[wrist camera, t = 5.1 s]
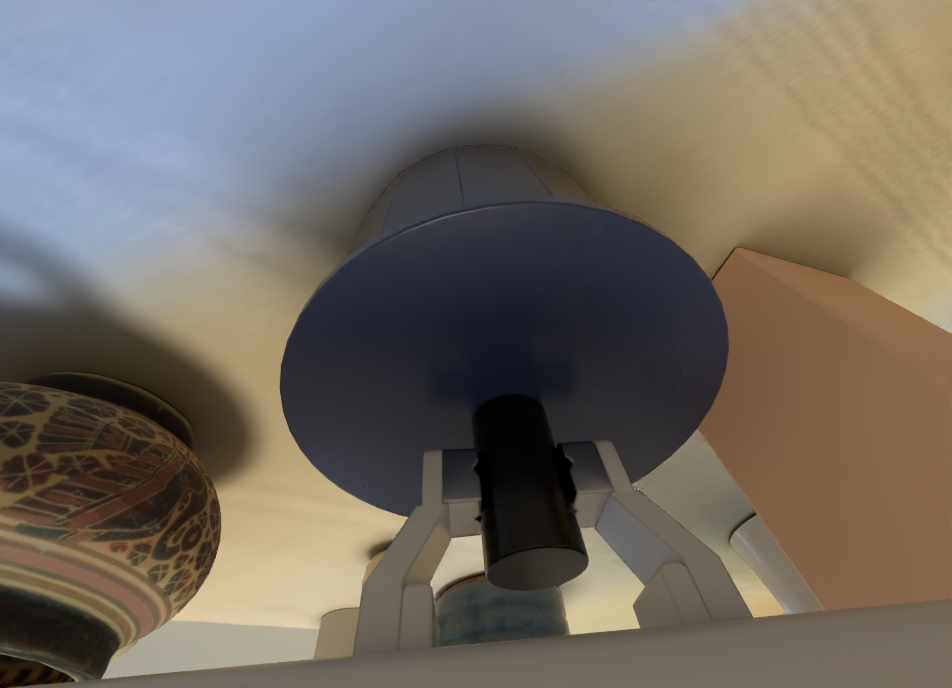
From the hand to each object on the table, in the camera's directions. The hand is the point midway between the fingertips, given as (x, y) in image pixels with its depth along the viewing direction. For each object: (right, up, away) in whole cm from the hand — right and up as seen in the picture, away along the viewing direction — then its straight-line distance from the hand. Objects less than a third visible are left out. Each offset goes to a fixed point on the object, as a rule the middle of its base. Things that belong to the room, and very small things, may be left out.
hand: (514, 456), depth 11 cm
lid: (0, +1, +2) cm, 2 cm away
